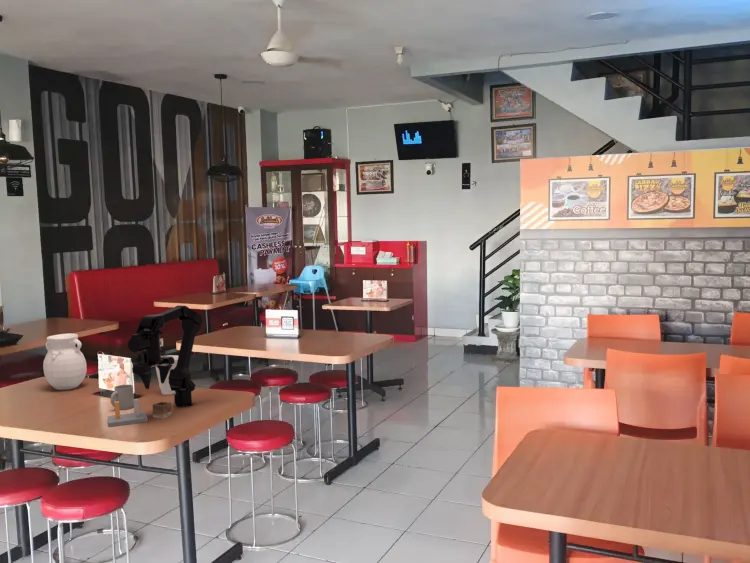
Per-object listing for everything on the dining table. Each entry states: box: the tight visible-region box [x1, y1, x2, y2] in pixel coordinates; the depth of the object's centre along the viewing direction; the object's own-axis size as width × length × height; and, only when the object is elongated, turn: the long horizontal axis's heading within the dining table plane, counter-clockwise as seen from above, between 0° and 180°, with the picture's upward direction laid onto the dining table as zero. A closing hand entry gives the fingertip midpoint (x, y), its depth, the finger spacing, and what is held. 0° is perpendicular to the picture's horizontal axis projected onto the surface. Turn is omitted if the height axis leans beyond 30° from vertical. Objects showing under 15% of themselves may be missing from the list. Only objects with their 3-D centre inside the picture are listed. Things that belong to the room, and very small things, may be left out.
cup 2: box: [155, 354, 179, 396], centre depth 295 cm, size 12×12×16 cm
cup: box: [110, 384, 135, 411], centre depth 272 cm, size 7×10×9 cm
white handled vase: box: [42, 332, 88, 391], centre depth 309 cm, size 19×18×25 cm
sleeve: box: [151, 401, 173, 419], centre depth 259 cm, size 5×5×5 cm
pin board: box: [107, 398, 149, 428], centre depth 254 cm, size 14×10×8 cm
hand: (155, 386), depth 259 cm, fingers open, 9 cm apart
